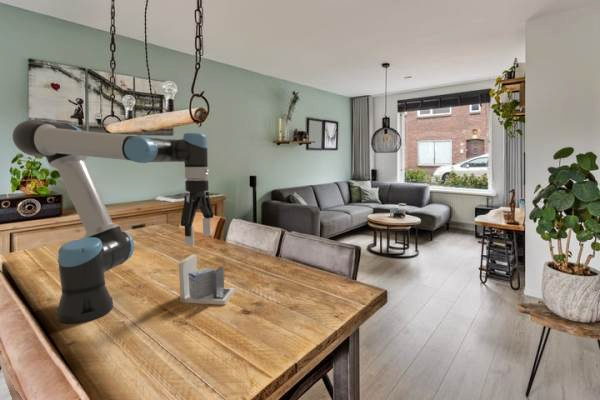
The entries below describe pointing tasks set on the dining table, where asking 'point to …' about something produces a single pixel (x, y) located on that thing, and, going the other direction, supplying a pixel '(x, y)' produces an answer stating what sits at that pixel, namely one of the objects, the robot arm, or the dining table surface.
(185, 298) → the white l-shaped stand
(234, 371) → the dining table surface
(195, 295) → the medicine box
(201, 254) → the dining table surface
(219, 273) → the bookend
